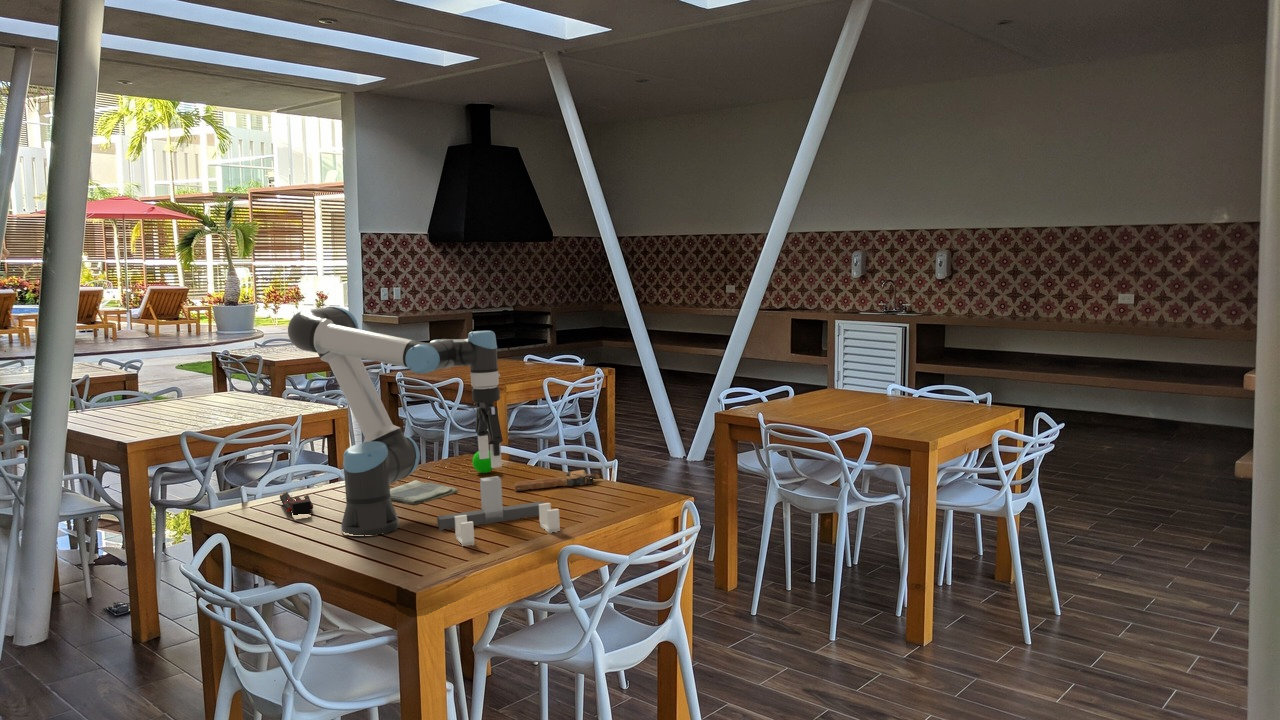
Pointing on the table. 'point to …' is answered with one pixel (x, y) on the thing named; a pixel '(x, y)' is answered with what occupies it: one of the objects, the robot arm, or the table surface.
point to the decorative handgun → (558, 481)
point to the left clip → (464, 530)
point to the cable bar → (491, 507)
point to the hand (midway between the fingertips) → (490, 462)
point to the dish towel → (419, 492)
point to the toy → (296, 504)
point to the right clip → (549, 518)
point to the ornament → (482, 463)
